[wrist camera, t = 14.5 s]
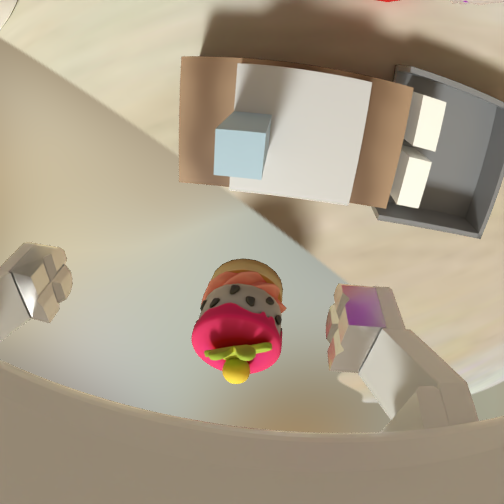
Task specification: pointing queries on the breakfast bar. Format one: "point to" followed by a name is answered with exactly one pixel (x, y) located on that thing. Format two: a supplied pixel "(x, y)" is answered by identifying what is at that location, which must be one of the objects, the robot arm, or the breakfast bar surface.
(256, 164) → the blue-knobbed white block
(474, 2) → the toy
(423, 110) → the tile
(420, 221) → the tray
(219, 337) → the cake
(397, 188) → the tile
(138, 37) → the breakfast bar surface
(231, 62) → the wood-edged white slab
